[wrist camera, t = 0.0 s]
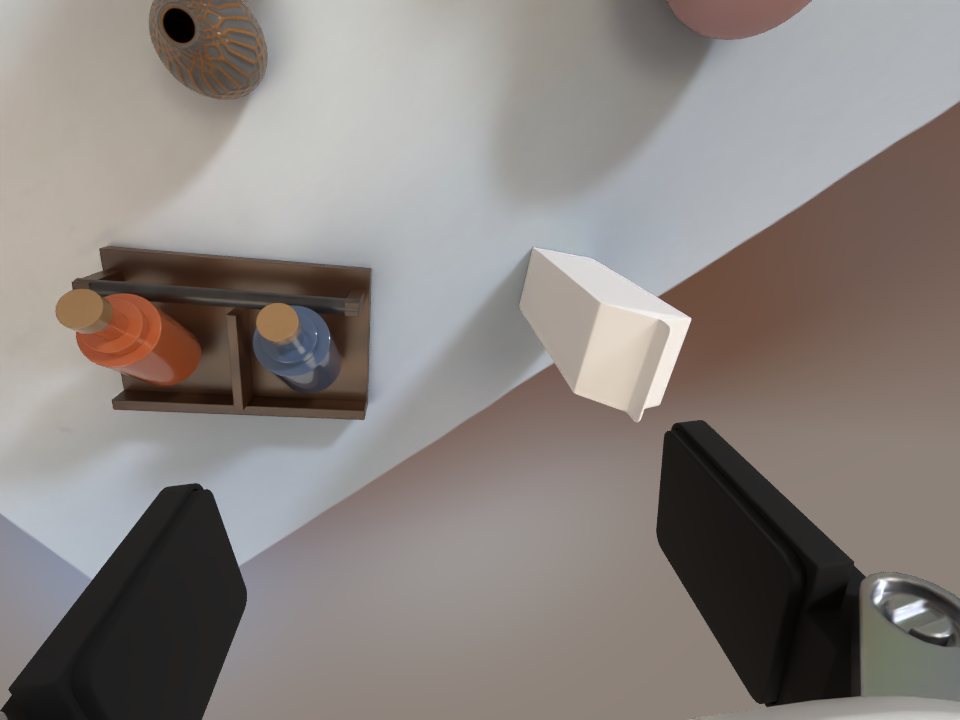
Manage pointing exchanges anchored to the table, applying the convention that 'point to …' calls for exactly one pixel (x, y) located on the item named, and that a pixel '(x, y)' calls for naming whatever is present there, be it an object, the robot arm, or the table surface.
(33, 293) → the table surface
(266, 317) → the slate bottle
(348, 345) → the rack
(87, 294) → the terracotta bottle
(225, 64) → the vase
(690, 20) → the mortar and pestle
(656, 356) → the milk
